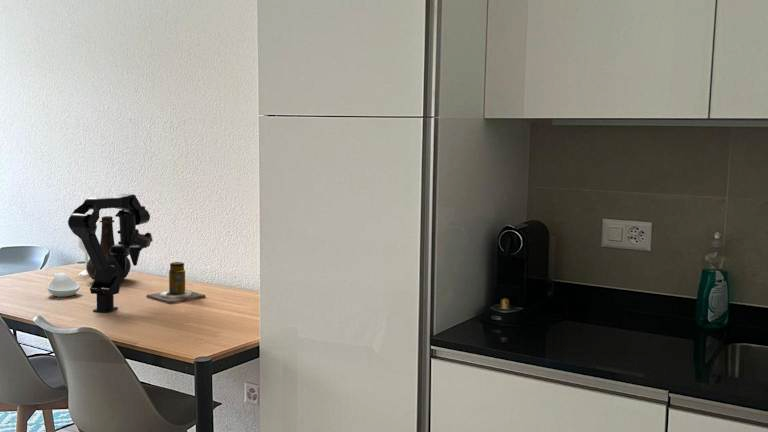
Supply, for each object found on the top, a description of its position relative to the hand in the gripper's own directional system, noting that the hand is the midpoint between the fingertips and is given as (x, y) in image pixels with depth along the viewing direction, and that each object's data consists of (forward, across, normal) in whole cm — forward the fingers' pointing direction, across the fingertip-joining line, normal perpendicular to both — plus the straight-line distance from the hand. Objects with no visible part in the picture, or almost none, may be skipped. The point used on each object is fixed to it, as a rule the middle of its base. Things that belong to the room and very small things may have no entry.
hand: (129, 268), depth 284 cm
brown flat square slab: (+14, +10, -14) cm, 22 cm away
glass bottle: (+14, +34, +26) cm, 45 cm away
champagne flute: (+15, +48, +43) cm, 66 cm away
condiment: (+12, +9, -14) cm, 21 cm away
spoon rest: (+14, +10, +34) cm, 38 cm away
